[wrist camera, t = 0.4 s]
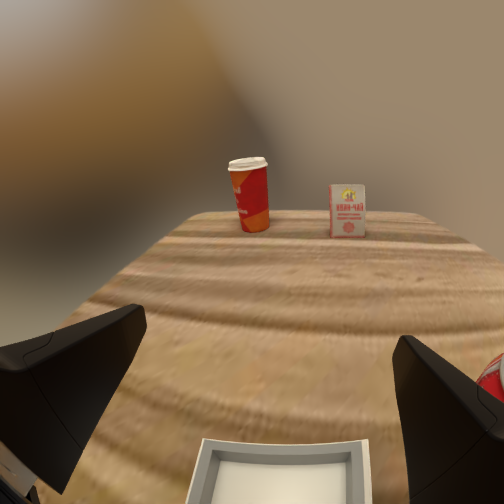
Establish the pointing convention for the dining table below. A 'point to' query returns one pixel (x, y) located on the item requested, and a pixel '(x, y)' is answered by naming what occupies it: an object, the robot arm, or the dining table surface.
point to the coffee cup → (251, 192)
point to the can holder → (281, 473)
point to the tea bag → (347, 211)
